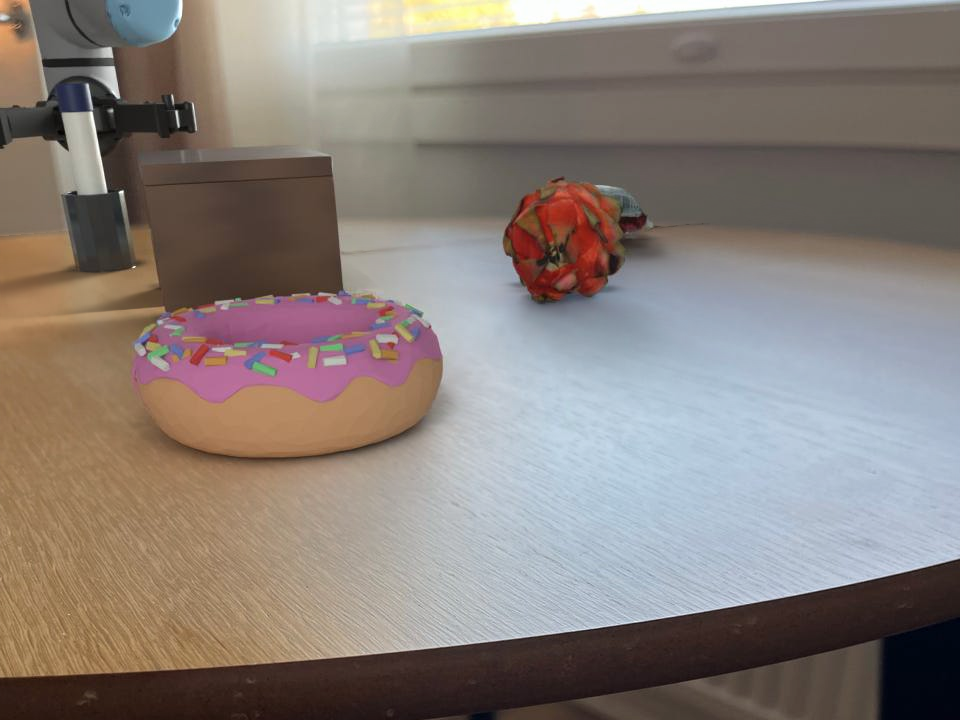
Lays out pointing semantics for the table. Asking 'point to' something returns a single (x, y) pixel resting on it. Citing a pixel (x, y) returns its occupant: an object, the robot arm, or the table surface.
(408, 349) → the donut
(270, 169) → the desk cabinet
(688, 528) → the table surface
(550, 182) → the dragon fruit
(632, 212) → the packaged food
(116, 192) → the pen cup
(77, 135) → the marker
